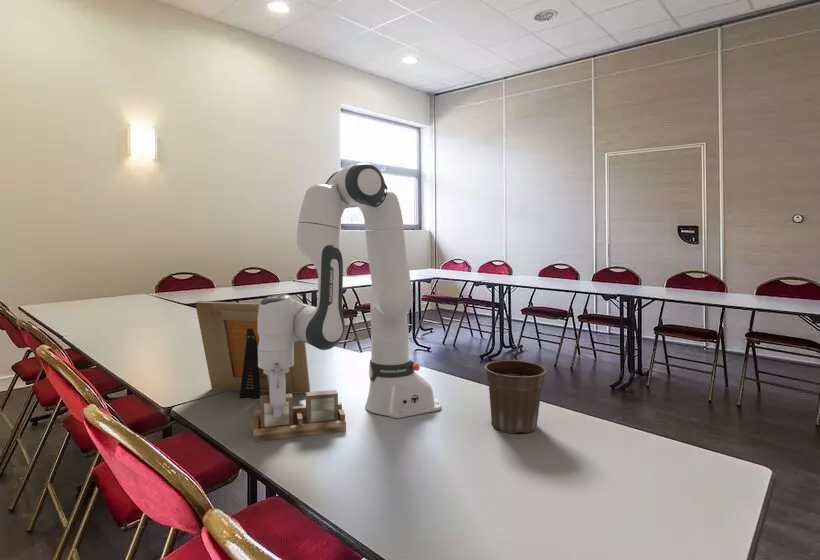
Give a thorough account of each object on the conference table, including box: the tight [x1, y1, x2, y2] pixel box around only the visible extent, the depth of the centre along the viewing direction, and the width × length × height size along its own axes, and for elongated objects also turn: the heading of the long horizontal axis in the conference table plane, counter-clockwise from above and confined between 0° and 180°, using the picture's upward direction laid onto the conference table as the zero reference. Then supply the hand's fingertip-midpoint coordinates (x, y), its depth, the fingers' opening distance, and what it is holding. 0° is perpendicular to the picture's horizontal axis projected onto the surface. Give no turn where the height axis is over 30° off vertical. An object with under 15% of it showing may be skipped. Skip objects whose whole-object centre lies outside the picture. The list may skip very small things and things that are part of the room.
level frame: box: [305, 389, 339, 424], centre depth 127 cm, size 8×3×8 cm, turn 108°
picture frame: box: [194, 300, 311, 400], centre depth 151 cm, size 33×10×30 cm, turn 84°
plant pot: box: [484, 359, 547, 434], centre depth 131 cm, size 16×16×16 cm
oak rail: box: [252, 401, 347, 442], centre depth 126 cm, size 23×8×5 cm, turn 108°
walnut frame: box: [259, 392, 294, 429], centre depth 124 cm, size 8×3×8 cm, turn 108°
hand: (276, 411), depth 124 cm, fingers open, 5 cm apart
